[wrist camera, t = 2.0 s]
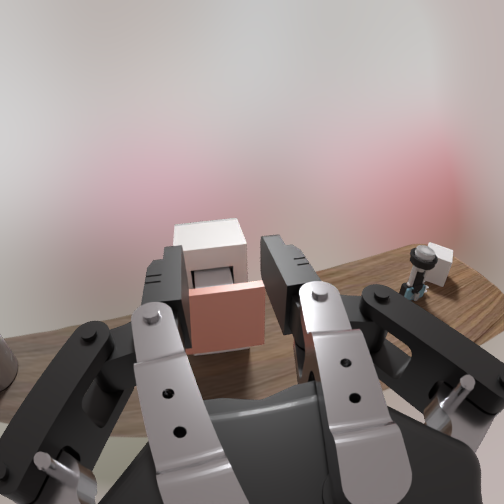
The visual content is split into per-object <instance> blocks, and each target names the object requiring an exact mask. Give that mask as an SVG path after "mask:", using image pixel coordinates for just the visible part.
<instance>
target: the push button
mask: <svg viewBox="0 0 504 504" xmlns="http://www.w3.org/2000/svg"><path fill="white" fill-rule="evenodd" d="M410 255H411V257H410V261H411V263H412V264H413V267H412V271H411V274H410V277H409V280H408V282H407V283H403V284H402V286H401V289H400V292H399V294H401V295H402V296H404V297H405V298H407V299H408V300H413V299H414V301H417V300H418V298H420V297H422V296H423V294H424V292H427V290H426V288H429V287H428V286H427V285H426V286H425V285H424V284H423V283H424V282H425V278H426V275H427V272H428V270H431V269H433V268H434V267H435V264H437V262H438V257H437V256H436V255H435V252H434V250H433V249H432V248H430V247H428V246H424V245H420V246H417V248H413V249H412V250H411V252H410Z"/></svg>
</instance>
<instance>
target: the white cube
mask: <svg viewBox="0 0 504 504" xmlns="http://www.w3.org/2000/svg"><path fill="white" fill-rule="evenodd" d="M428 247H430V248H432V249H433V250H434V252H435V255H436V256H437V257H438V262H437V264H435V267H434V268H433V269H431V270H428V272H427V275H426V278H425V281H428V282H430V283H433V284H436V285H439V286H441V287H443V286H444V284H445V281H446V278H447V276H448V273H449V270H450V267H451V264H452V258H453V250H451V249H448V248H445V247H442V246H439V245H436V244H433V243H430V242H429V244H428Z"/></svg>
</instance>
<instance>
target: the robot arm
mask: <svg viewBox="0 0 504 504" xmlns="http://www.w3.org/2000/svg"><path fill="white" fill-rule="evenodd" d="M260 243H261V244H260V245H261V277H262V281H263V284H264V286H265V289H266V292H267V294H268V297H269V299H270V302H271V304H272V307H273V310H274V312H275V315H276V317H277V320H278V322H279V325H280V328H281V330H282V333H283V335H288V334H293V337H294V344H293V349H294V357H295V366H296V374H297V382H298V385H294V386H292V387H289V388H287V389H285V390H283V391H281V392H278V393H276V394H274V395H272V396H269V397H267V398H265V399H262V400H246V399H230V398H218V399H210V400H203V399H202V397H201V394H200V391H199V389H198V386H197V383H196V380H195V377H194V375H193V372H192V369H191V366H190V363H189V360H188V357H187V354H186V351H185V349H190V348H192V339H191V323H190V304H189V286H188V278H187V272H186V266H185V260H184V253H183V247H182V245H178V246H170V247H165V248H164V255H163V259H160V260H153V261H152V263H151V264H150V265H149V267H148V268H147V272H146V278H145V284H144V290H143V297H142V303H141V306H140V307H138V308H137V309H136V310H135V311H134V312H133V314H132V317H131V322H129V323H127V324H125V325H123V326H120V327H117V328H114V329H111V330H109V328H108V326H107V325H106V324H105V323H103V322H101V321H90V322H87V323H85V324H82V325H81V326H79V327H78V328H77V329H76V330H75V331H74V333H73V334H72V335H71V336H70V338H69V339H68V340H67V342H66V343H65V344H64V345H63V347H62V348H61V349H60V351H59V352H58V353H57V355H56V356H55V357H54V359H53V360H52V361H51V363H50V364H49V366H48V367H47V368H46V370H45V371H44V372H43V374H42V375H41V377H40V378H39V379H38V381H37V382H36V384H35V385H34V387H33V388H32V390H31V391H30V392H29V394H28V395H27V397H26V398H25V400H24V401H23V403H22V404H21V406H20V407H19V409H18V410H17V412H16V414H15V415H14V417H13V418H12V420H11V421H10V423H9V425H8V426H7V428H6V430H5V431H4V433H3V435H2V436H1V438H0V494H1V495H3V496H5V497H7V498H9V499H11V500H13V501H14V502H15V503H17V504H95V496H96V494H97V482H96V478H95V476H94V474H93V473H92V470H93V468H94V466H95V464H96V462H97V460H98V458H99V456H100V454H101V452H102V450H103V448H104V446H105V444H106V442H107V440H108V438H109V436H110V434H111V432H112V430H113V428H114V426H115V424H116V422H117V420H118V418H119V416H120V414H121V413H122V411H123V409H124V407H125V405H126V403H127V401H128V399H129V397H130V395H131V393H132V392H133V389H134V386H136V385H137V390H138V395H139V400H140V405H141V410H142V415H143V419H144V424H145V428H146V432H147V437H148V442H147V443H146V445H145V446H144V447H143V449H142V450H141V451H140V452H139V454H138V455H137V456H136V457H135V459H134V460H133V461H132V462H131V464H130V465H129V466H128V468H127V469H126V470H125V471H124V472H123V474H122V475H121V476H120V478H119V479H118V480H117V481H116V482H115V484H114V485H113V486H112V487H111V488H110V490H109V491H108V492H107V493H106V495H105V496H104V497H103V498H102V499H101V501H100V502H99V503H98V504H483V503H482V496H481V469H480V463H479V460H478V458H477V456H476V454H475V452H476V451H477V449H478V447H479V445H480V444H481V442H482V440H483V438H484V437H485V435H486V433H487V431H488V429H489V427H490V425H491V423H492V421H493V419H494V418H495V417H496V416H497V415H498V414H499V412H501V411H502V410H503V409H504V363H503V362H501V361H499V360H498V359H497V358H495V357H494V356H493V355H491V354H490V353H488V352H487V351H485V350H484V349H482V348H481V347H480V346H478V345H477V344H475V343H474V342H472V341H471V340H469V339H468V338H467V337H465V336H464V335H462V334H461V333H459V332H458V331H456V330H455V329H453V328H452V327H450V326H449V325H447V324H446V323H444V322H443V321H441V320H440V319H438V318H436V317H435V316H433V315H432V314H430V313H429V312H427V311H426V310H424V309H423V308H421V307H419V306H418V305H416V304H415V303H413V302H412V301H410V300H408V299H407V298H405V297H404V296H402V295H401V294H399V293H397V292H396V291H394V290H393V289H391V288H389V287H387V286H384V285H378V284H373V285H369V286H367V287H365V288H364V289H363V291H362V295H361V296H347V295H340V294H339V291H338V290H337V288H335V287H334V286H333V285H331V284H329V283H326V282H322V281H321V280H320V278H319V277H318V275H317V274H316V272H315V271H314V269H313V268H312V266H311V265H310V264H309V262H308V260H307V259H306V258H305V256H304V254H303V253H302V251H301V250H300V249H298V248H297V247H295V246H294V245H285V244H284V242H283V240H282V239H281V237H280V235H270V236H262V237H261V242H260ZM388 332H389V333H391V334H392V335H393V336H395V337H396V338H398V339H399V340H400V341H402V342H403V343H405V344H406V345H407V346H408V347H409V348H410V350H411V352H412V357H410V356H408V355H407V354H406V353H404V352H403V351H402V350H400V349H399V348H397V347H396V346H395V345H393V344H392V343H391V342H389V341H388V340H387V339H385V338H386V336H387V333H388ZM17 369H18V362H17V359H16V357H15V356H14V354H13V353H12V351H11V349H10V348H9V347H8V345H7V344H6V342H5V341H4V339H3V337H2V336H1V334H0V391H2V390H3V389H5V388H6V387H8V386H9V385H10V383H11V382H12V381H13V379H14V378H15V376H16V373H17ZM379 379H380V380H381V381H382V382H383V383H385V384H386V385H387V386H388V387H390V388H391V389H392V390H394V391H395V392H396V393H397V394H398V395H400V396H401V397H402V398H403V399H405V400H406V401H407V402H408V403H410V404H411V405H412V406H414V407H415V408H416V409H417V410H418V411H420V412H421V413H422V414H423V415H424V419H425V423H424V424H423V423H421V422H419V421H417V420H415V419H413V418H411V417H409V416H407V415H404V414H403V413H400V412H399V411H396V410H395V409H393V408H391V407H388V406H387V405H386V401H385V398H384V395H383V392H382V389H381V385H380V382H379ZM90 385H91V386H90ZM87 390H88V391H87ZM85 393H86V394H85Z"/></svg>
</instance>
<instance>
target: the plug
mask: <svg viewBox="0 0 504 504" xmlns="http://www.w3.org/2000/svg"><path fill="white" fill-rule="evenodd" d="M194 274H195V289H189V304H190V323H191V339H192V348H190V349H185V351H186V354H187V355H188V354H198V353H206V352H214V351H222V350H229V349H236V348H243V347H250V346H256V345H262V344H264V332H265V286H264V284H263V281H262V280H261V281H253V282H245V283H237V284H233V280H232V276H231V272H230V268H229V266H227V267H219V268H210V269H202V270H194Z"/></svg>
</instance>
